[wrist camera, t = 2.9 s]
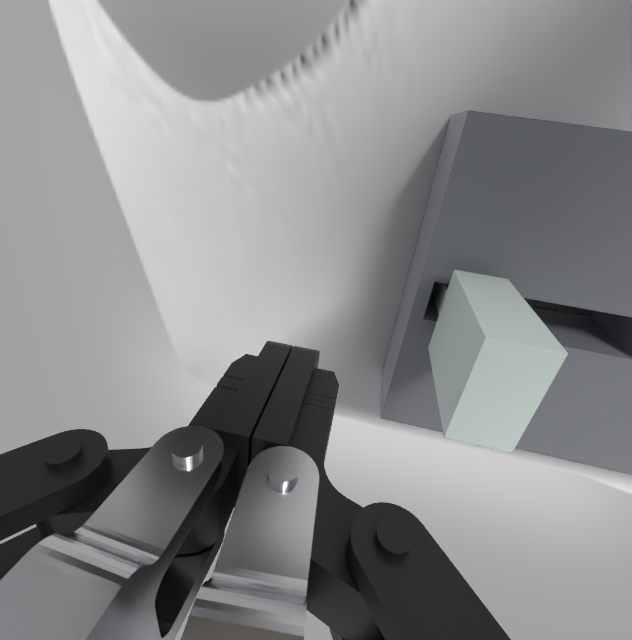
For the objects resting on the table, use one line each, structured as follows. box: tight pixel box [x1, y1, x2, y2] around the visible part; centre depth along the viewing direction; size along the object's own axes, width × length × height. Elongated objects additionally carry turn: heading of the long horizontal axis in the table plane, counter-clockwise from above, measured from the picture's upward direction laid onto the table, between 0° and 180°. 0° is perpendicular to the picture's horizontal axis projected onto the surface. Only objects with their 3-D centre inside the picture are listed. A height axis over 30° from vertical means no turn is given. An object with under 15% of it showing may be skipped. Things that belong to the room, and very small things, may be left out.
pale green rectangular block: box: [428, 270, 568, 453], centre depth 14 cm, size 4×2×10 cm, turn 173°
